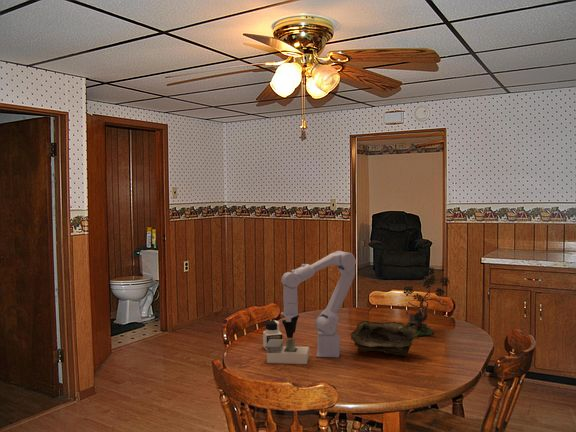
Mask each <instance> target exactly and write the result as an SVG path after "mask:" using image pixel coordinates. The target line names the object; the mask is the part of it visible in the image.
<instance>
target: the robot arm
mask: <svg viewBox="0 0 576 432" xmlns="http://www.w3.org/2000/svg"><path fill="white" fill-rule="evenodd" d="M356 264H357V260H356V258H355V255H354V254H353V253H352V252H346V251H342V250H336V251H334V252H331V253H330V254H328V255H326V256H324V257H323V258H320V259H319V260H317V261H316V262H313V263H312V264H308V263H306V264H305V263H302V264H301V265H300V267H297V268H295V269H291V272H290V271H287V272H285V273H283V275H282V276H281V279H280V282H281V284H282V286H283V287H282V289H283V290H282V291H283V293H282V295H283V299H282V300H283V311H281V312H280V316H284V318H285V319H282V320H281V322H282V325H283V327H284V330H285V334H286V337H287V339H294V338H293V337H294V334H295V333H296V330H297V323H298V319H299V317H300V315H299V312H298V311H299V308H298V286H299V285H300V284H301V283H303V282H304V281H307V280H308V279H310V278H312V277H314V275H315V273H316V272H318V271H321V270H323V269H325V268H327V267H329V266H336V267H337V268H338V271H339V273H340V277H339V279H338V280H337V283H336V286H335V288H334V290H333V292H332V294H331V297H330V299H329V301H328V303H327V305H326V307H325V309H323V310H322V311H321V313H320V314H319V316H317V317H316V318H315V321H314V324H315V325H314V326H315V328H316V329H317V352H316V355H315V356H316V357H317V358H318V357H319V358H340V354H341V337H340V336H341V335H340V333H336V332H337V330H338V323H339V320H340V319H339V313H340V310H341V308H342V305H343V303H344V300H345V299H346V297H347V294H348V292H349V291H350V288H351V285H352V283H353V281H354V279H355V275H356Z"/></svg>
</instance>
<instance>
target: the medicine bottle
mask: <svg viewBox="0 0 576 432" xmlns="http://www.w3.org/2000/svg"><path fill="white" fill-rule="evenodd" d="M270 339H283V333H282V332H281V331H280V321H278V320H275V319H273V320H272V319H271V320H267V321H266V322H265V330H263V331H262V344H263V345H262V346H263V348H264V349H265V351H266V352H268V348H265V346H266V344H267V343H268V341H269V340H270ZM281 346H284V345H283V344H282V345H281Z"/></svg>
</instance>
